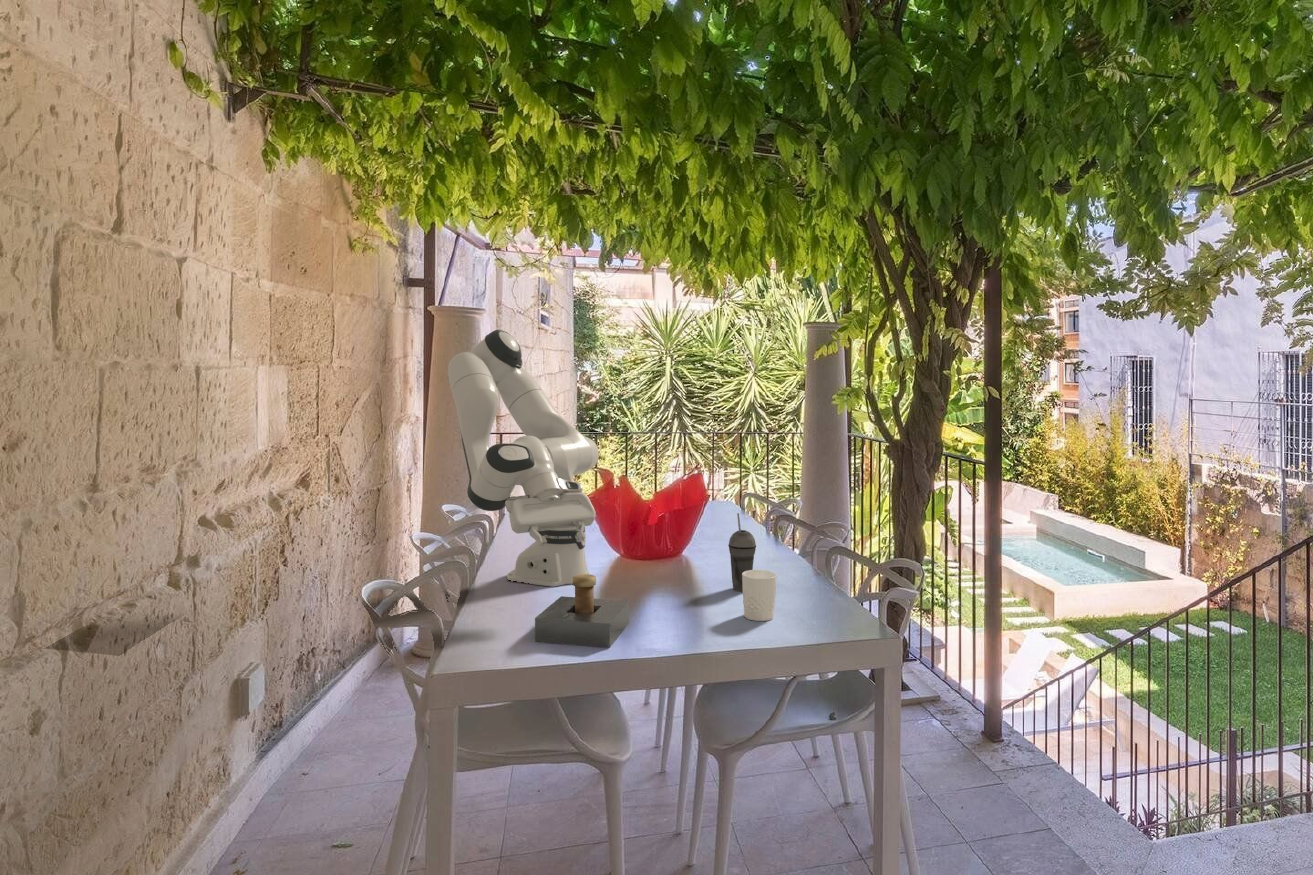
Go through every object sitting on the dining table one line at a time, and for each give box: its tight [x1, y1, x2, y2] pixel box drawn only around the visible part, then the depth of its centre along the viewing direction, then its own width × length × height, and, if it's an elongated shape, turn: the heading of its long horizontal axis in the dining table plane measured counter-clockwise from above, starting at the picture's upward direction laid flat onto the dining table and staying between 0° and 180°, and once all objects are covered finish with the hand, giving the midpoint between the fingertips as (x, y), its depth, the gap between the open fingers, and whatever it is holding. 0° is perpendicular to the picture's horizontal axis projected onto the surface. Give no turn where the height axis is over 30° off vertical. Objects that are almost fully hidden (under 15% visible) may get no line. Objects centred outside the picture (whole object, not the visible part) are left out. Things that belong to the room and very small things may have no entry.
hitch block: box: [534, 596, 630, 649], centre depth 156 cm, size 16×16×5 cm
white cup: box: [742, 569, 778, 622], centre depth 167 cm, size 8×8×10 cm
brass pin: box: [572, 574, 597, 614], centre depth 156 cm, size 5×5×12 cm
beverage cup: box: [727, 513, 757, 593], centre depth 189 cm, size 7×7×20 cm
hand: (562, 542), depth 165 cm, fingers open, 8 cm apart
